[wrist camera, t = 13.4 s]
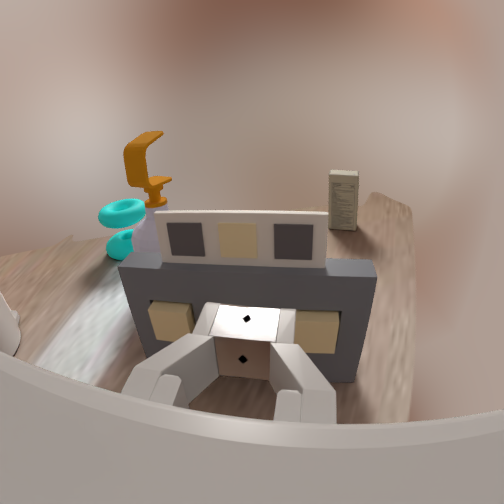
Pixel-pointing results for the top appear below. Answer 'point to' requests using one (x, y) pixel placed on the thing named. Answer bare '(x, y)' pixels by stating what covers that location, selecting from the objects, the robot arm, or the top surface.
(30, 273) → the top surface
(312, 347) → the button right
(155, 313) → the button left
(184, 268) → the panel
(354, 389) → the top surface
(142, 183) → the soap bottle
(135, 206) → the donuts
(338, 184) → the skincare box
